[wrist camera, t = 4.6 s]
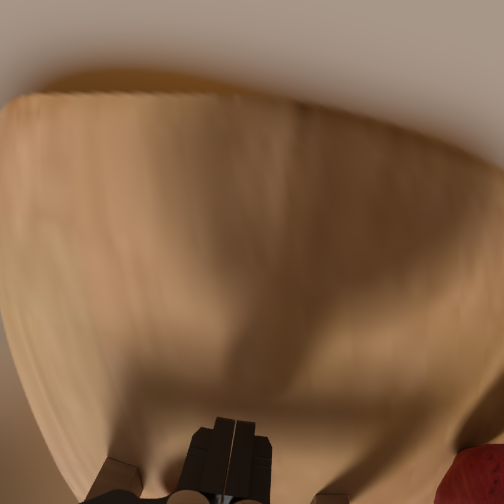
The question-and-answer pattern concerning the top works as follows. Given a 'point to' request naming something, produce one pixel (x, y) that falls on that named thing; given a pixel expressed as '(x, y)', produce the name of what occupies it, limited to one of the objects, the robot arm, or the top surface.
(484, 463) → the onion
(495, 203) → the top surface
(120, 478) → the bridge
